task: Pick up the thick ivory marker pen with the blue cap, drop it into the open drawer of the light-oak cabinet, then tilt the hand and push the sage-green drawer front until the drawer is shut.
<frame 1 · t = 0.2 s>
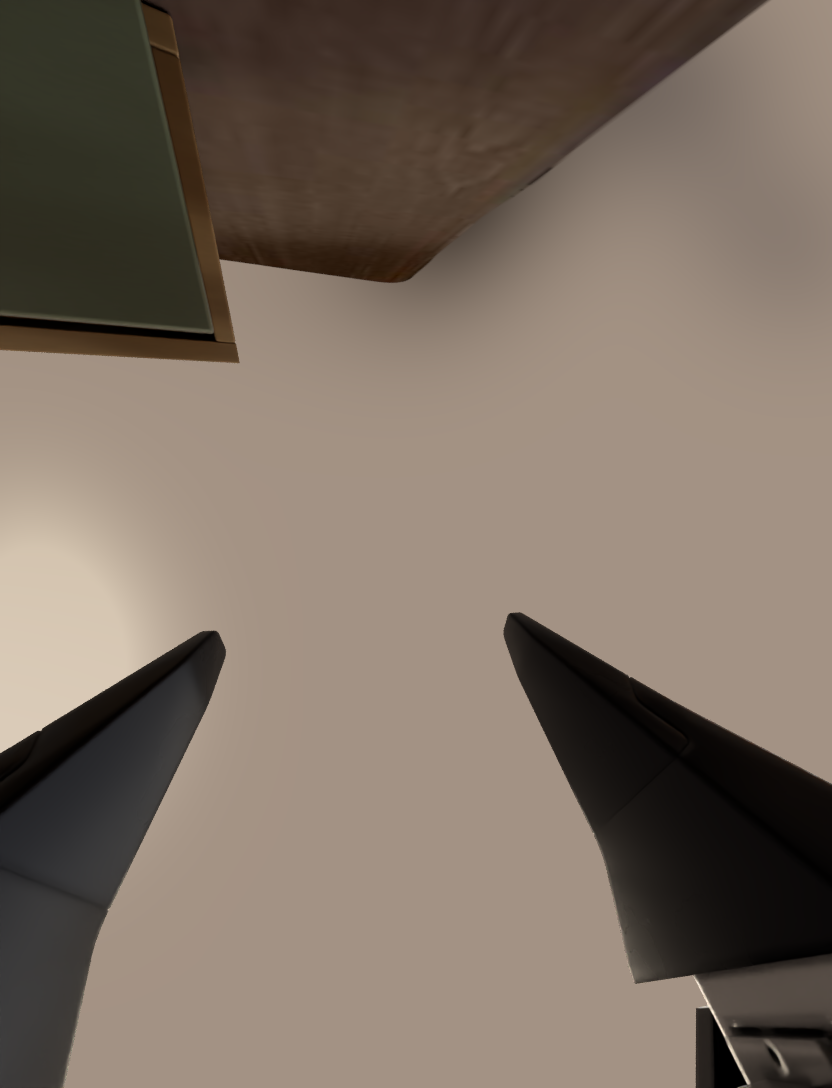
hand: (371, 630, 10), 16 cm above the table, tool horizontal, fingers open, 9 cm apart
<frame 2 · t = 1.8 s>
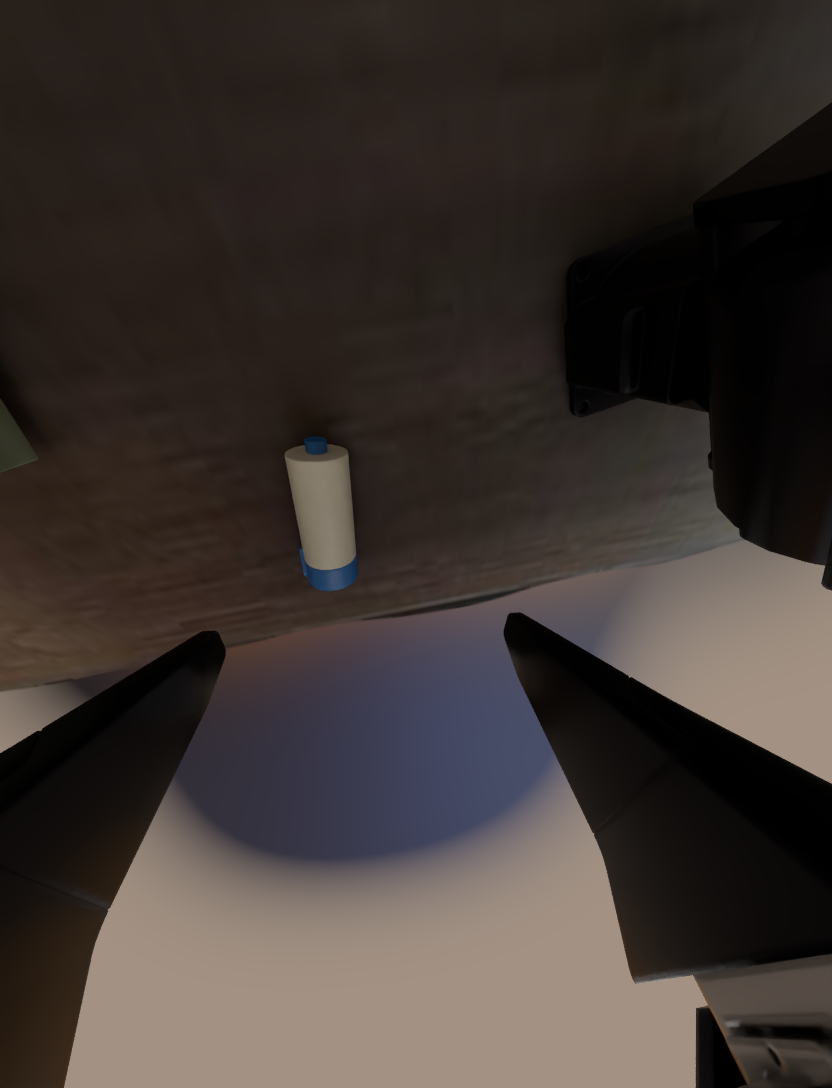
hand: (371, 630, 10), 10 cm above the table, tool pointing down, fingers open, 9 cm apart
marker: (352, 513, 17), point 2 cm above the table, tilted 95°
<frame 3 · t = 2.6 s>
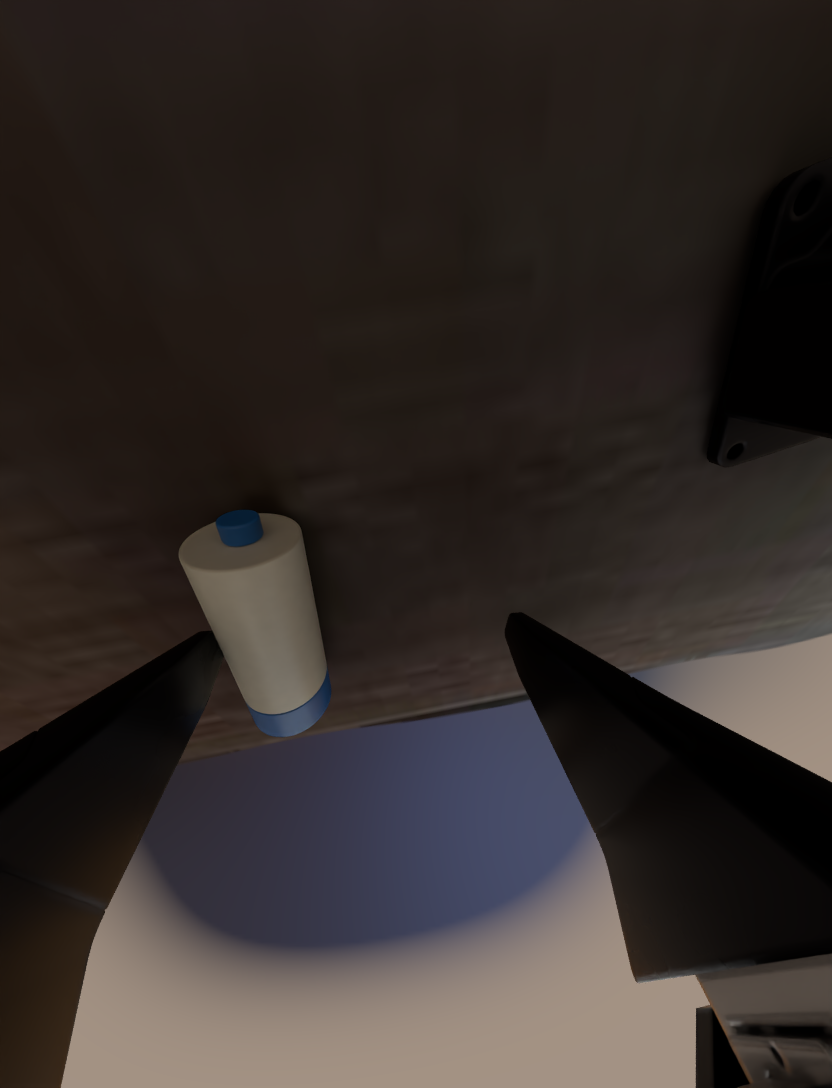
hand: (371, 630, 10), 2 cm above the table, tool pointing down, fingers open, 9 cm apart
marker: (300, 645, 9), point 2 cm above the table, tilted 131°, touching gripper
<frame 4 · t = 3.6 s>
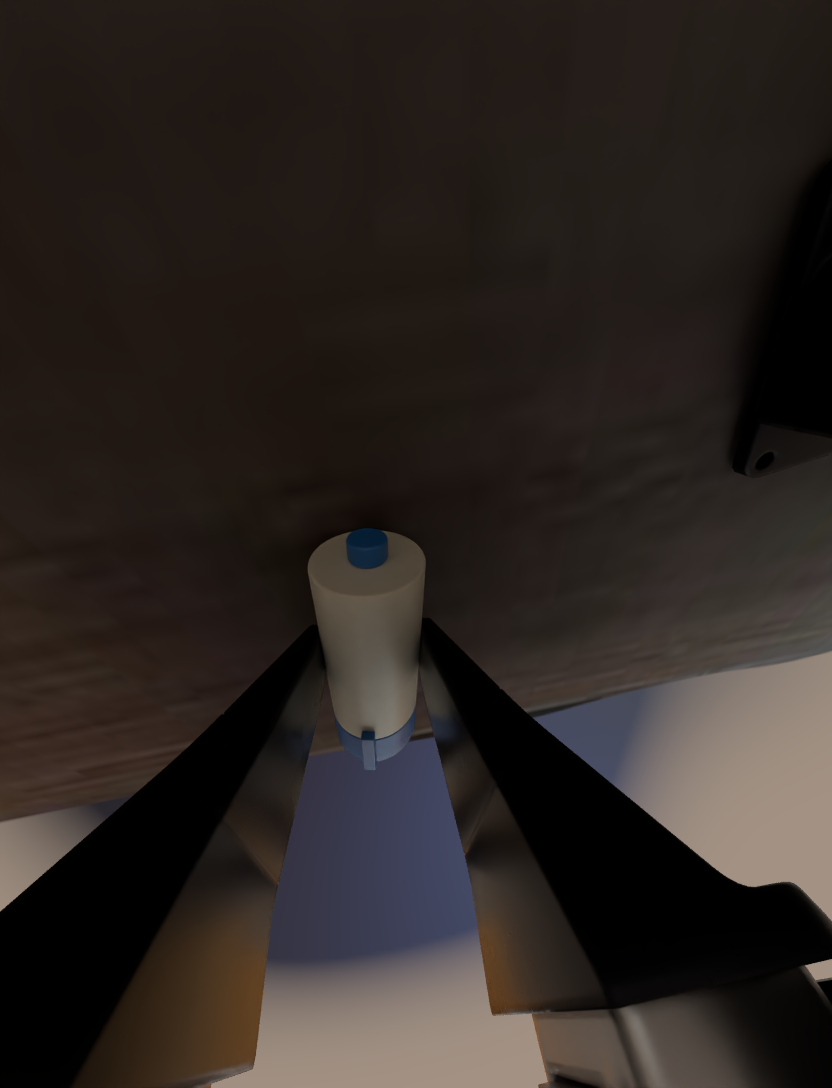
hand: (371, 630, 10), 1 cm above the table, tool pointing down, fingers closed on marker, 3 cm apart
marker: (378, 610, 11), on the table, tilted 8°, touching gripper
when the fingers open (7 cm above the table, at t = 8.0 s): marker drops 4 cm, resting on drawer.
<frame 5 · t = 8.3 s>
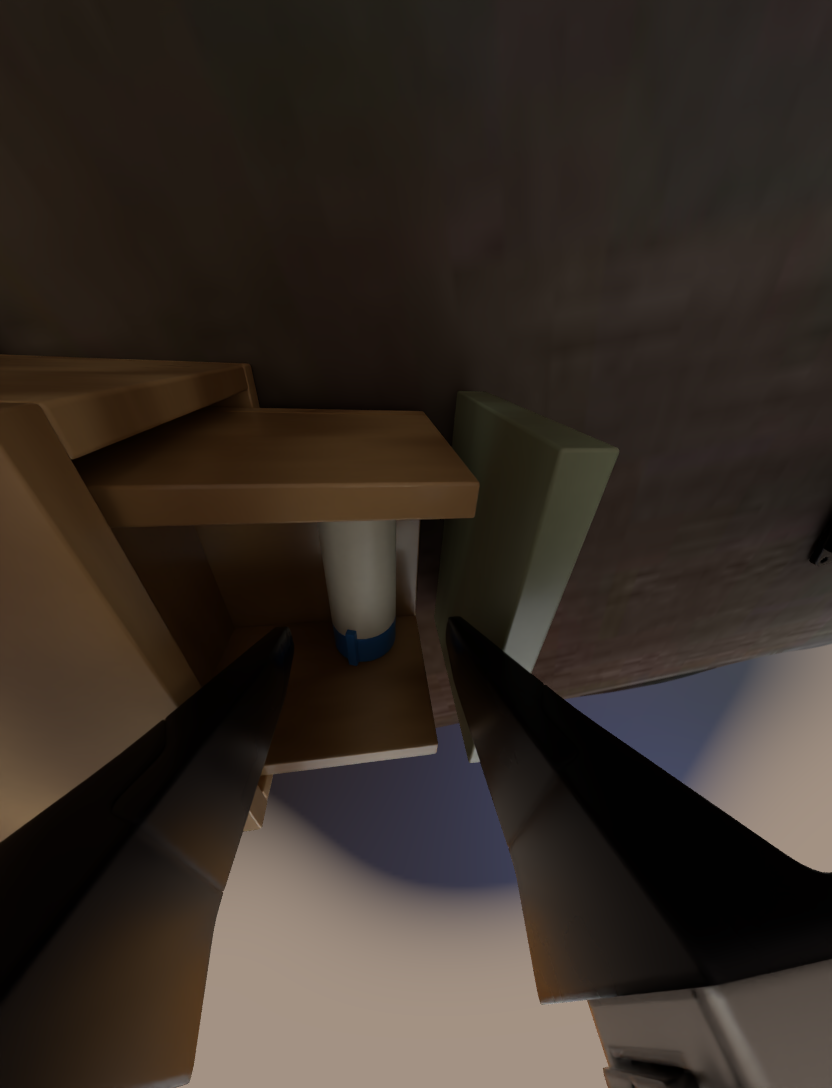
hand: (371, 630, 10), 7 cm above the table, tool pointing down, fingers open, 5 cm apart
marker: (371, 548, 14), point 2 cm above the table, tilted 19°, touching drawer
drawer: (346, 585, 11), point 5 cm above the table, slide at 7.6 cm, touching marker
cabinet: (131, 528, 14), on the table
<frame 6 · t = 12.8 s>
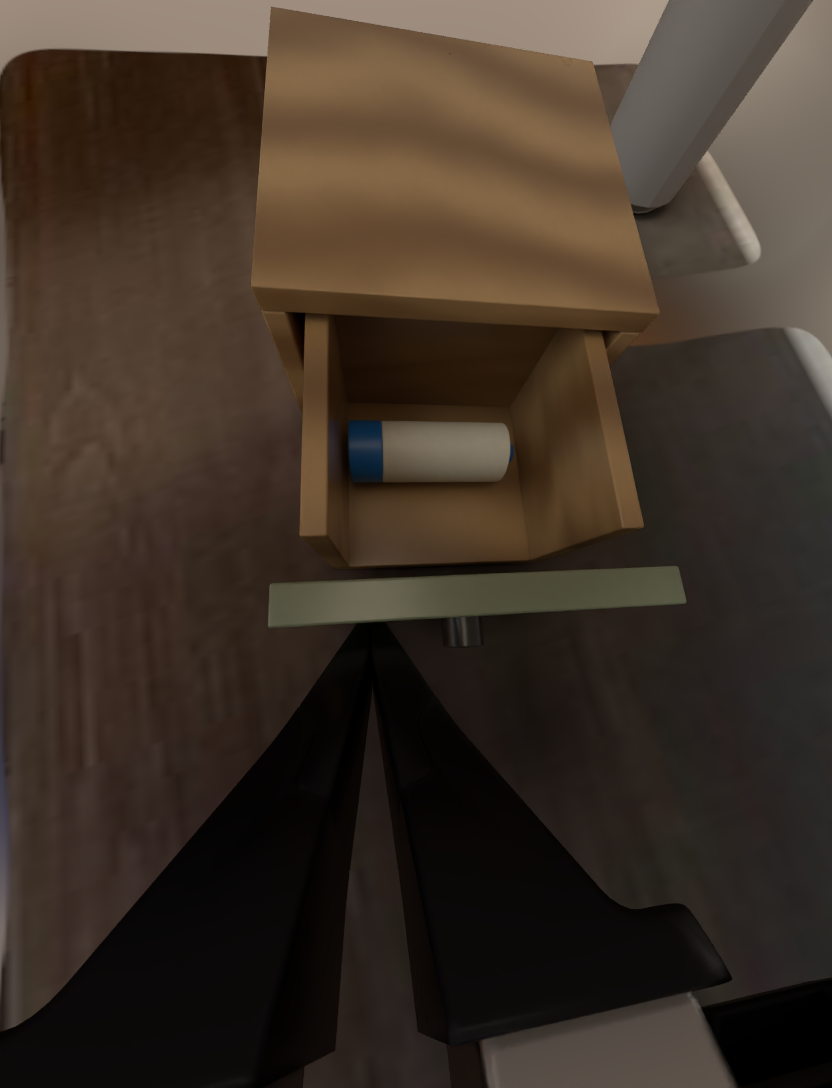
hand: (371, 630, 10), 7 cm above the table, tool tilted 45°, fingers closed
can: (626, 191, 27), on the table
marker: (441, 465, 14), point 4 cm above the table, tilted 128°, touching drawer
drawer: (450, 484, 14), point 5 cm above the table, slide at 8.7 cm, touching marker
cabinet: (421, 358, 21), on the table
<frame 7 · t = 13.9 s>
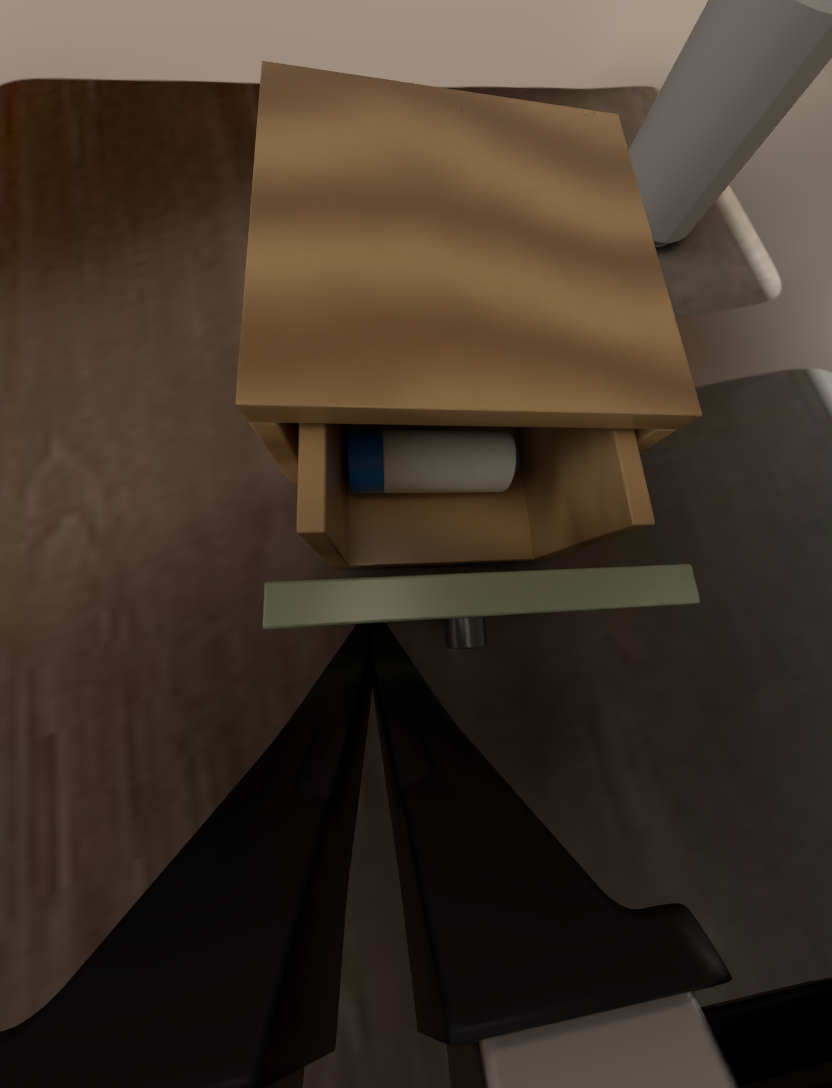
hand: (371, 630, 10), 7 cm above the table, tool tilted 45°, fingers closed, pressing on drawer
can: (640, 223, 26), on the table
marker: (442, 488, 14), point 4 cm above the table, tilted 99°, touching drawer
drawer: (452, 480, 13), point 5 cm above the table, slide at 4.4 cm, touching gripper, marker
cabinet: (426, 411, 19), on the table
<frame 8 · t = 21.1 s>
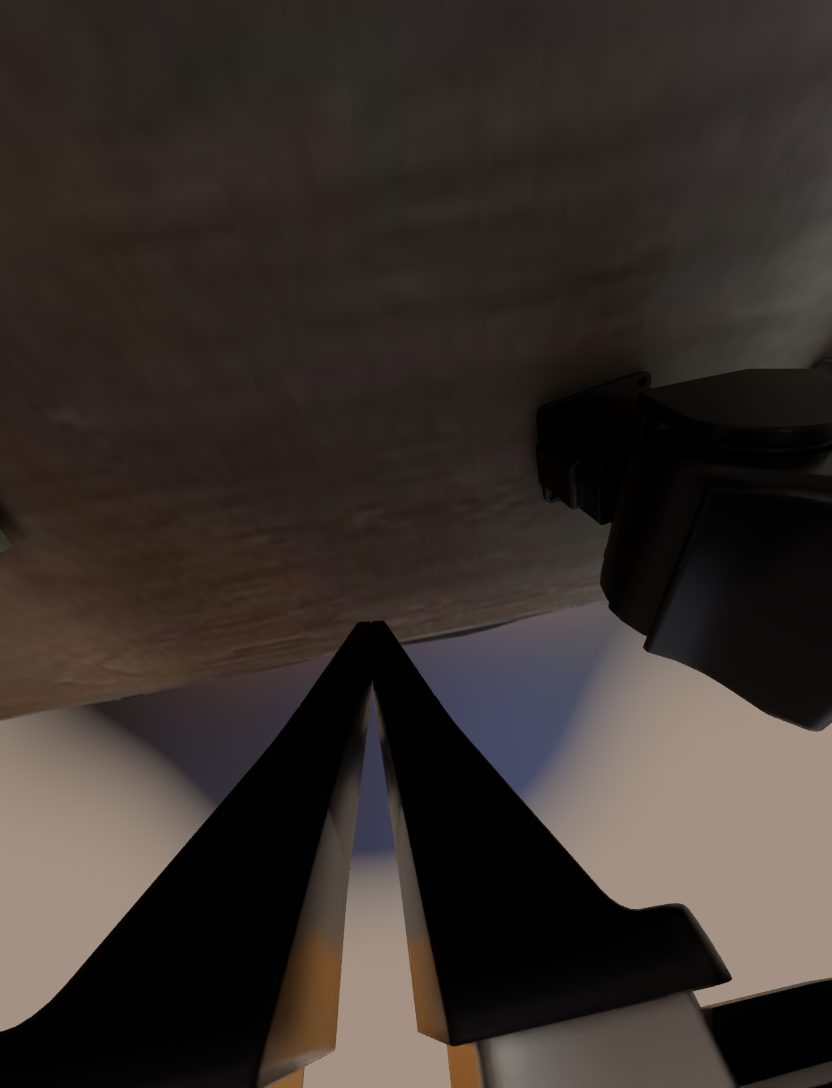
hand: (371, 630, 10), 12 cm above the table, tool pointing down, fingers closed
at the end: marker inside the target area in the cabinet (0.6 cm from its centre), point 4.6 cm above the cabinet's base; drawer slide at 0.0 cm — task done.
